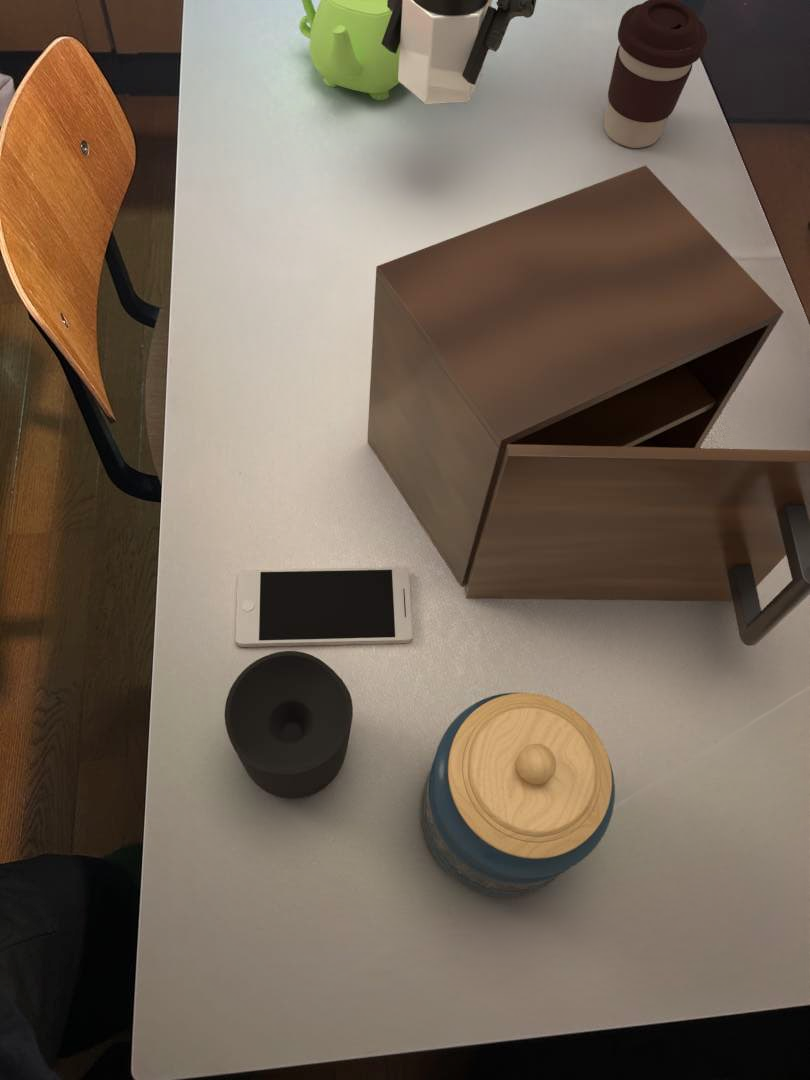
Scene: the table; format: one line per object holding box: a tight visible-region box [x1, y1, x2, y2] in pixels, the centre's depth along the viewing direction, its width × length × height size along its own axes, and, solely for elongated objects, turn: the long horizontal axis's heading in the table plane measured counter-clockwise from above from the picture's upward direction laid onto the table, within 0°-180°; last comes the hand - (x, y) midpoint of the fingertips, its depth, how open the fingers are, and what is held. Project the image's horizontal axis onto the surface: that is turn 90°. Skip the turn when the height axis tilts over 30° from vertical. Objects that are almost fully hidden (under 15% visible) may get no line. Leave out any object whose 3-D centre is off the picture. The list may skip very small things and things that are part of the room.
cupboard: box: [367, 164, 784, 588], centre depth 82 cm, size 18×26×24 cm
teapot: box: [298, 0, 400, 101], centre depth 113 cm, size 16×14×13 cm
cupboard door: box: [464, 444, 810, 647], centre depth 74 cm, size 8×26×24 cm, turn 91°
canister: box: [420, 692, 616, 898], centre depth 68 cm, size 13×13×18 cm
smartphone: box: [235, 566, 414, 648], centre depth 83 cm, size 7×16×1 cm, turn 93°
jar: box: [398, 0, 493, 105], centre depth 93 cm, size 9×8×12 cm
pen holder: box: [224, 650, 354, 799], centre depth 73 cm, size 9×9×10 cm
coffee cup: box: [603, 0, 708, 149], centre depth 110 cm, size 10×10×15 cm
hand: (428, 64), depth 93 cm, fingers closed on jar, 8 cm apart
